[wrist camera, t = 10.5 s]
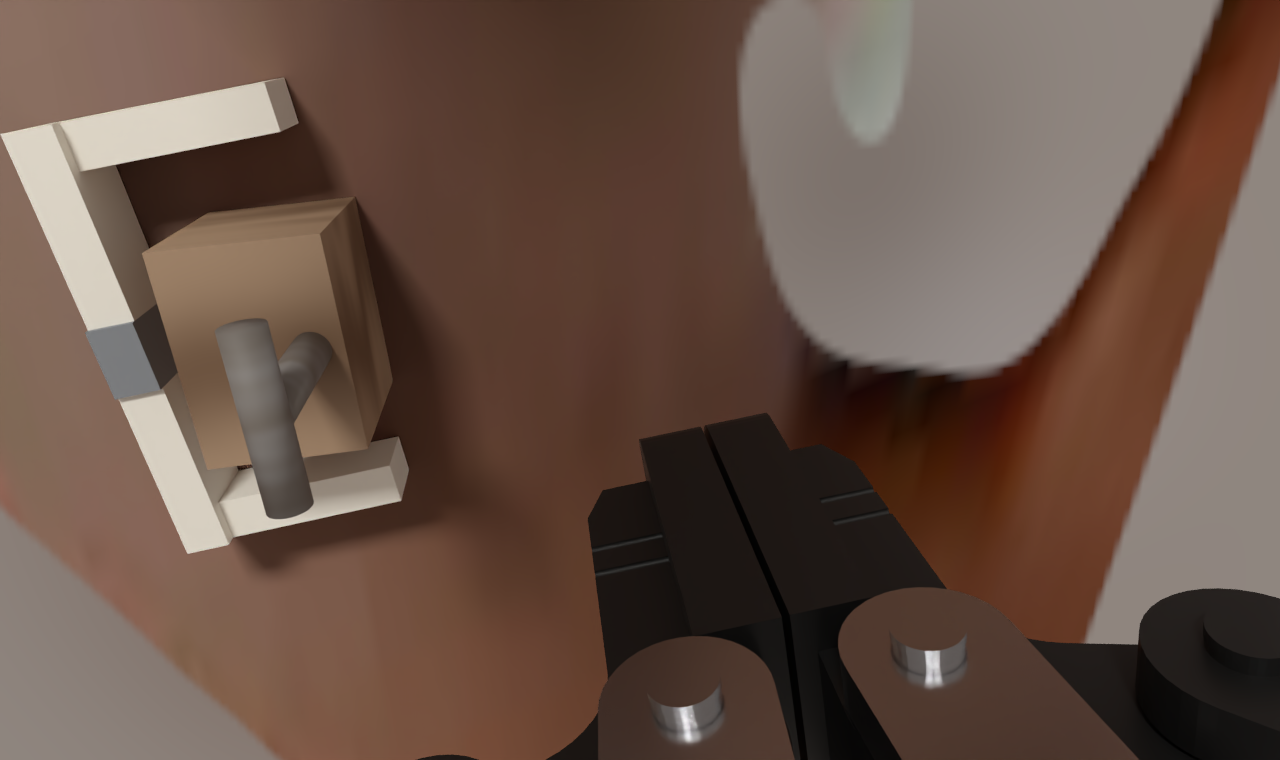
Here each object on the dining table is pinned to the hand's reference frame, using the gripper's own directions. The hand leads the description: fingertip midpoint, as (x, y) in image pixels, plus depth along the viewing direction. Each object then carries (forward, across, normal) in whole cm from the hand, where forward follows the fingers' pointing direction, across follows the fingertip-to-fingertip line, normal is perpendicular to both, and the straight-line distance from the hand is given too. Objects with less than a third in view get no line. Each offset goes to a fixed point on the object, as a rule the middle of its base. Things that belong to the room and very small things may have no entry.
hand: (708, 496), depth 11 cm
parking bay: (+24, +13, +3) cm, 27 cm away
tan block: (+24, +11, +3) cm, 26 cm away
